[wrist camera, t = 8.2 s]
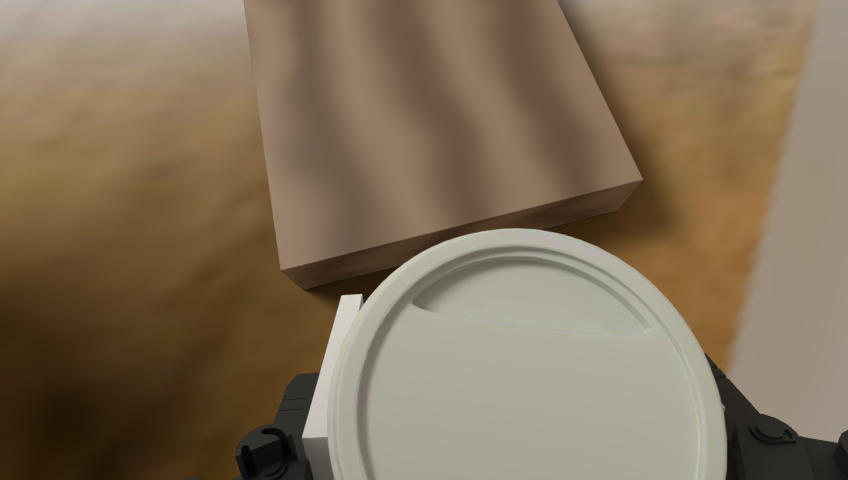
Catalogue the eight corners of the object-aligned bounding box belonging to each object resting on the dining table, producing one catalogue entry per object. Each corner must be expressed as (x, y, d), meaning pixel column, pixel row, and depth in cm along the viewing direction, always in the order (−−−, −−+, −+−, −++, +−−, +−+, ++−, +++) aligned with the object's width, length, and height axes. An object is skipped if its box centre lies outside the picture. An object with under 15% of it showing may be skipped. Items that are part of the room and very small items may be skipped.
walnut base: (303, 289, 28) (280, 270, 24) (265, 43, 35) (243, -1, 32) (618, 210, 29) (642, 179, 25) (517, -16, 36) (525, -66, 32)
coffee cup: (618, 396, 20) (839, 373, 9) (502, 576, 18) (599, 844, 7) (462, 278, 22) (481, 138, 11) (342, 425, 20) (214, 438, 9)
